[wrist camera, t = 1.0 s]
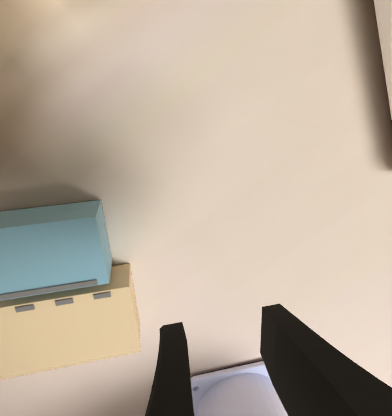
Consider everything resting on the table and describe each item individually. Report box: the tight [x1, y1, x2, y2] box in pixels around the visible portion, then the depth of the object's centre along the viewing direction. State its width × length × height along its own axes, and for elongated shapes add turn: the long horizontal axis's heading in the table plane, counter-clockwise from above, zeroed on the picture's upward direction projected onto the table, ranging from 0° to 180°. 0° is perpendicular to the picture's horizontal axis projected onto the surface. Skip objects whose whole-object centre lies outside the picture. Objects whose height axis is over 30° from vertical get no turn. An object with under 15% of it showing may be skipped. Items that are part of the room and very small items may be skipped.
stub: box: [0, 200, 112, 301], centre depth 16 cm, size 4×6×2 cm, turn 94°
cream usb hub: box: [0, 264, 141, 380], centre depth 17 cm, size 5×11×2 cm, turn 94°
